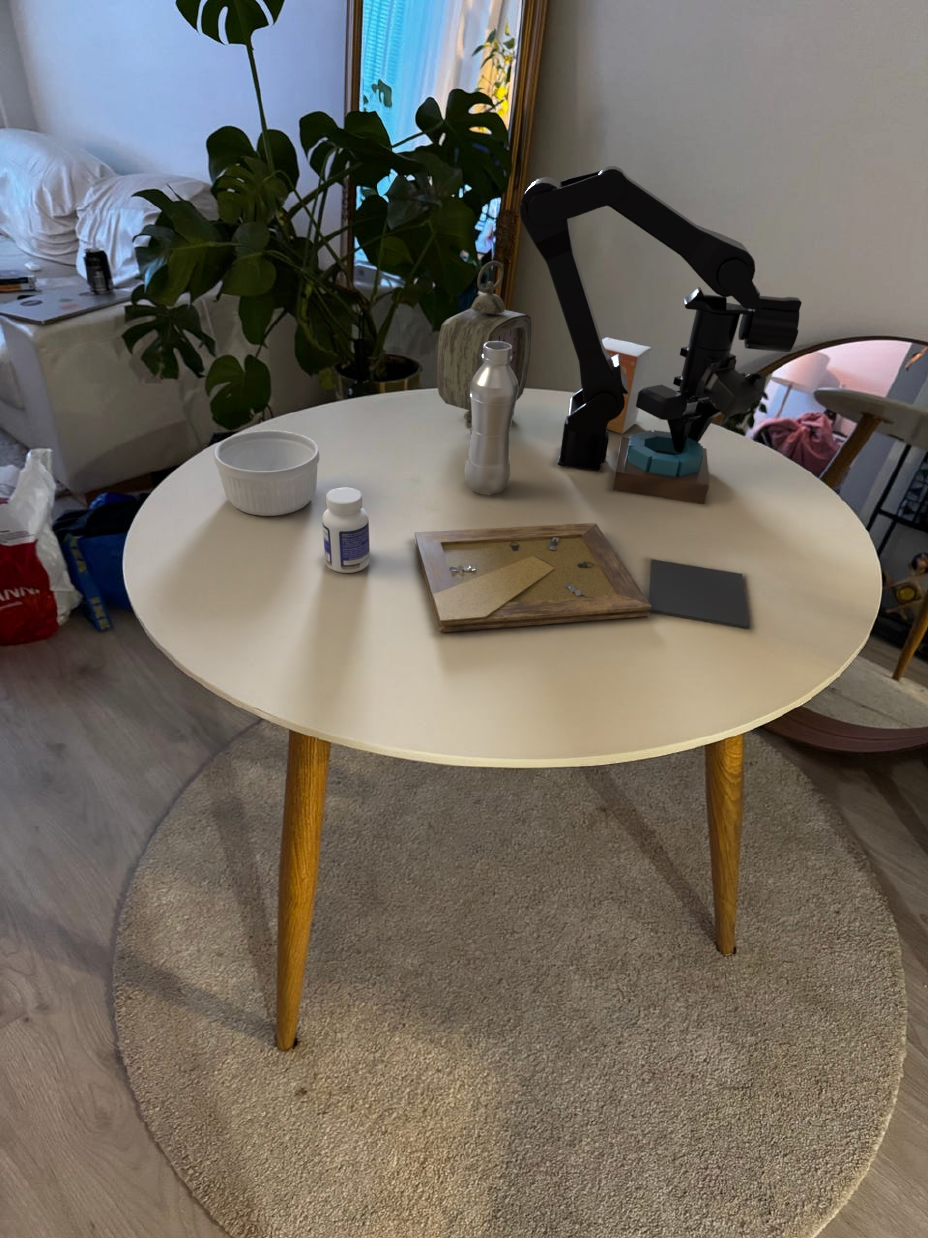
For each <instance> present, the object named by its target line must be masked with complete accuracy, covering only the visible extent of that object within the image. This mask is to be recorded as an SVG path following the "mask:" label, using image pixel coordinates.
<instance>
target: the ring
mask: <svg viewBox="0 0 928 1238" xmlns="http://www.w3.org/2000/svg"><path fill="white" fill-rule="evenodd" d="M629 438H630V439H629V445H628V450H627V458H626V459H628V462H630V463H632V464H633V465H635V466H637V467H639V468H640V469H642V470H644V471H648V470H650V471H649V473H655V474H662V475H669V476H676V474H677V475H678V476H683V475H687V474H690V473H694V472H698V470H700V468H701V464H702V460H703V448H704V445H702V443H700V442H696V441H694V440H692V439H690V438H688V437H687V440H686V443H685V446H684V448H683V451H682V452H681V453H678V452H676V451H675V449H674V445H673V441H672V437H671V433H670V431H663V430H655V429H654V430H653V431H652V430H646V431H642V432H637V433H633V434H632V435H630V436H629ZM652 450H660V451H667V452H673V453H674V454H676V455H668V454H661V453H656V452H654V451H652Z"/></svg>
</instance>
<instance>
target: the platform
mask: <svg viewBox="0 0 928 1238" xmlns="http://www.w3.org/2000/svg"><path fill="white" fill-rule="evenodd" d="M629 439H630V437H626V436H621V437H620V441H619V447H618V452H617V457H616V464H615V470H614V476H613V483H612V491H614V492H621V493H628V494H634V495H638V496H639V495H640V496H647V497H654V498H660V499H665V500H666V499H667V500H674V501H680V502H686V503H687V502H688V503H691V504H692V503H693V504H700V505H705V503H706V499H707V495H708V492H709V489H710V475H709V464H708V452H707V451H708V449H707V448H706V447H703V460H702V464H701V468H700V470H698V472H694V473H690V474H687V475H683V476H678V475H677V474H676V476H669V475H662V474H655V473H649V471H650V470H648V471H644V470H642V469H640V468H639V467H637V466H635V465H633V464H632V463H630V462H628V459H626V458H627V450H628V445H629ZM652 451H654V452H656V453H661V454H668V455H676V454H674V453H673V452H667V451H660V450H652Z"/></svg>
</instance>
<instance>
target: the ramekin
mask: <svg viewBox="0 0 928 1238" xmlns="http://www.w3.org/2000/svg"><path fill="white" fill-rule="evenodd" d="M213 458H214V459H213V460H214V465H215V466H216V468H217V470H218V473H219V477H220V481H221V485H222V488H223V491H224V494H225V497H226V499H227V500H228V501H229V503H230V504H232V506H234V507H235V508H236V509H237V510H239V511H241V512H243V513H246V514H249V515H254V516H261V517H275V516H282V515H283V516H285V515H287V514H291V513H294V512H297V511H300V510H301V509H303V508H304V507H305V506H307V505H308V504H309V503H310V502H311V501H312V499H313V498H314V496H315V493H316V489H317V482H318V481H317V480H318V465H319V463H320V448H319V446H318V444H317V443H316V442H315V441H314V440H313V439H311V438H309V437H308V436H305V435H302V434H300V433H298V432H297V433H296V432H293V431H285V430H276V429H265V430H263V429H262V430H254V431H247V432H242V433H238V434H235V435H232V436H229V437H227V438H226V439H224V440H222V441H221V442H219V443H218V444H217V445H216V446H215V448H214V450H213Z"/></svg>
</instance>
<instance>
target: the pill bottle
mask: <svg viewBox="0 0 928 1238" xmlns="http://www.w3.org/2000/svg"><path fill="white" fill-rule="evenodd" d="M362 494H363V493H362V492H361V491H359V490H358V489H356V488H354V487H346V486H345V487H337V488H333V489H331V490H329V491H328V492H327V493H326V496H325V499H326V501H325V503H326V508H327V509H326V510H325V511H324V512H323V514H322V517H321V521H322V536H323V548H324V549H323V552H324V561H325V564H326V566H327V567H328V569H331V570H332V571H334V572H337V573H342V574H352V573H356V572H360V571H363V570H364V569H365V568H366V567H368V565H369V564H370V561H371V556H370V555H371V554H370V552H371V551H370V550H371V549H370V524H369V523H370V521H369V514H368V512H367V511H366V509H365V508H363V495H362Z"/></svg>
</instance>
